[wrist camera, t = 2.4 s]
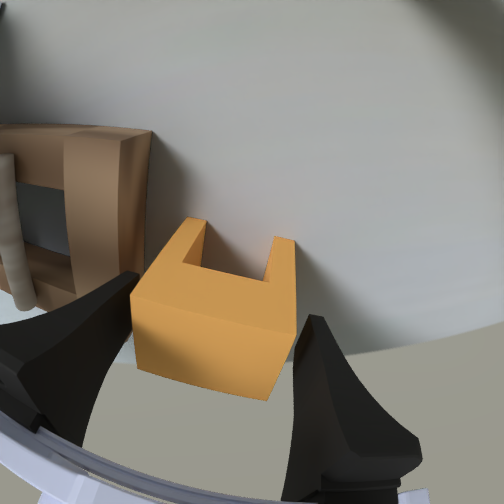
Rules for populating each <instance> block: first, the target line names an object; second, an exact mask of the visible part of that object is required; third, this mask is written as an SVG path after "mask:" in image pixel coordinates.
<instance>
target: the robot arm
mask: <svg viewBox="0 0 504 504" xmlns="http://www.w3.org/2000/svg"><path fill="white" fill-rule="evenodd" d="M0 8H1V1H0ZM139 281H140V274H139V273H135V272H131V271H128V270H127V271H125V272H123V273H121V274H120V275H118V276H116V277H115V278H113V279H111V280H110V281H108V282H107V283H105V284H103V285H101V286H100V287H98V288H96V289H95V290H93V291H91V292H90V293H88V294H86V295H84V296H82V297H80V298H78V299H76V300H75V301H73V302H71V303H69V304H67V305H64V306H62V307H60V308H57V309H55V310H53V311H50V312H47V313H44V314H42V315H39V316H36V317H33V318H29V319H26V320H22V321H18V322H13V323H8V324H2V325H0V463H1V464H3V465H4V466H5V467H7V468H8V469H9V470H11V471H12V472H13V473H15V474H16V475H18V476H19V477H20V478H22V479H23V480H25V481H26V482H28V483H29V484H31V485H32V486H34V487H36V488H37V489H39V490H40V491H42V494H41V496H40V499H39V501H38V504H166V503H163V502H159V501H156V500H152V499H149V498H147V497H144V496H141V495H137V494H135V493H132V492H129V491H126V490H124V489H121V488H119V487H116V486H114V485H111V484H109V483H106V482H104V481H102V480H99V479H97V478H94V477H92V476H89V474H88V473H87V472H86V471H85V470H87V471H89V472H91V473H93V474H95V475H98V476H100V477H102V478H104V479H107V480H109V481H112V482H114V483H117V484H119V485H122V486H124V487H127V488H130V489H132V490H135V491H138V492H141V493H144V494H147V495H150V496H153V497H156V498H160V499H163V500H166V501H170V502H174V503H178V504H430V499H429V492H428V488H422V489H417V490H411V491H406V492H402V493H399V494H397V487H400V486H401V480H400V478H401V477H403V476H404V475H406V474H407V473H409V472H410V471H412V470H414V469H415V468H416V467H418V466H419V465H420V463H421V462H422V459H423V458H422V453H421V447H420V443H419V439H418V438H417V437H416V436H415V435H413V434H412V433H411V432H409V431H408V430H407V429H405V428H404V427H403V426H402V425H400V424H399V423H398V422H397V421H396V420H395V419H394V418H392V416H390V415H389V414H388V413H387V412H386V411H385V410H384V409H383V408H382V407H381V406H380V405H379V403H378V402H377V401H376V400H375V399H374V398H373V397H372V396H371V394H370V393H369V392H368V391H367V389H366V388H365V387H364V386H363V384H362V383H361V382H360V381H359V379H358V377H357V376H356V375H355V373H354V372H353V370H352V368H351V367H350V365H349V364H348V362H347V360H346V359H345V357H344V355H343V353H342V352H341V350H340V348H339V346H338V344H337V343H336V341H335V339H334V337H333V335H332V333H331V331H330V329H329V327H328V325H327V323H326V321H325V319H324V317H321V316H316V315H311V314H309V316H308V318H307V321H306V323H305V325H304V328H303V330H302V332H301V335H300V337H299V339H298V342H297V344H296V346H295V352H294V361H293V394H294V421H293V431H292V440H291V447H290V455H289V461H288V467H287V473H286V479H285V483H284V488H283V492H282V497H281V501H272V500H262V499H253V498H246V497H239V496H232V495H227V494H222V493H216V492H211V491H206V490H202V489H197V488H193V487H189V486H185V485H181V484H177V483H174V482H170V481H166V480H163V479H160V478H156V477H154V476H150V475H147V474H144V473H141V472H139V471H136V470H133V469H130V468H127V467H125V466H122V465H120V464H117V463H115V462H112V461H110V460H107V459H105V458H102V457H100V456H98V455H96V454H94V453H91V452H89V451H87V450H85V449H83V448H82V445H83V441H84V437H85V433H86V429H87V425H88V422H89V419H90V415H91V413H92V409H93V406H94V404H95V401H96V398H97V396H98V393H99V390H100V388H101V385H102V383H103V381H104V378H105V376H106V374H107V372H108V370H109V368H110V366H111V364H112V363H113V361H114V359H115V358H116V356H117V354H118V352H119V351H120V349H121V347H122V346H123V344H124V343H125V341H126V339H127V338H128V336H129V334H130V333H131V331H132V329H133V327H132V316H131V303H130V294H131V293H132V291H133V290H134V288H135V287H136V285H137V284H138V283H139ZM79 467H80V468H79ZM81 468H82V469H81ZM83 469H84V470H83Z"/></svg>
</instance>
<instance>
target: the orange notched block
mask: <svg viewBox="0 0 504 504" xmlns="http://www.w3.org/2000/svg"><path fill="white" fill-rule="evenodd" d="M206 222H207V221H206V220H201V219H196V218H192V217H187V218H186V219H185V220H184V222H183V223H182V224H181V226H180V227H179V228H178V229H177V231H176V232H175V233H174V235H173V236H172V237H171V239H170V240H169V241H168V243H167V244H166V245H165V247H164V248H163V249H162V251H161V252H160V253H159V255H158V256H157V258H156V259H155V260H154V262H153V263H152V264H151V266H150V267H149V269H148V270H147V271H146V273H145V274H144V276H143V277H142V278H141V280H140V281H139V283H138V284H137V285H136V287H135V288H134V290H133V291H132V293H131V294H130V303H131V316H132V327H133V337H134V346H135V354H136V362H137V368H138V369H140V370H143V371H146V372H149V373H152V374H155V375H159V376H162V377H165V378H169V379H172V380H176V381H179V382H183V383H187V384H190V385H194V386H198V387H202V388H207V389H211V390H215V391H219V392H223V393H228V394H232V395H237V396H242V397H247V398H252V399H258V400H263V401H267V400H268V398H269V396H270V393H271V391H272V389H273V387H274V385H275V383H276V380H277V378H278V376H279V374H280V372H281V370H282V367H283V365H284V363H285V361H286V358H287V356H288V354H289V352H290V349H291V347H292V345H293V342H294V340H295V338H296V335H297V332H296V273H295V242H294V240H289V239H285V238H281V237H276V236H274V240H273V244H272V248H271V252H270V255H269V259H268V263H267V267H266V270H265V274H264V278H263V281H259V280H255V279H251V278H246V277H242V276H237V275H233V274H229V273H224V272H220V271H216V270H212V269H207V268H203V267H201V259H202V251H203V244H204V237H205V229H206Z"/></svg>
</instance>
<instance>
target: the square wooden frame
mask: <svg viewBox="0 0 504 504" xmlns="http://www.w3.org/2000/svg"><path fill="white" fill-rule="evenodd" d="M151 136H152V131H149V130H140V129H131V128H120V127H108V126H94V125H76V124H0V289H1V290H3V291H5V292H7V293H9V294H11V295H12V296H13V299H14V302H15V305H16V307H17V309H18V310H20V311H29V310H31V309H33V308H34V307H35V306H36V307H38V308H40V309H42V310H45V311H47V312H50V311H53V310H55V309H57V308H60V307H62V306H64V305H67V304H69V303H71V302H73V301H75V300H76V299H78V298H80V297H82V296H84V295H86V294H88V293H90V292H91V291H93V290H95V289H96V288H98V287H100V286H101V285H103V284H105V283H107V282H108V281H110V280H111V279H113V278H115V277H116V276H118V275H120V274H121V273H123V272H125V271H127V270H128V271H131V272H135V273H139V274H140V280H141V278H142V277H143V276H144V236H145V209H146V192H147V178H148V165H149V155H150V145H151ZM16 182H21V183H27V184H32V185H38V186H43V187H49V188H54V189H60V190H64V197H65V213H66V225H67V235H68V244H69V251H70V257H69V256H65V255H62V254H59V253H56V252H53V251H50V250H47V249H44V248H41V247H38V246H35V245H32V244H29V243H26V242H24V241H23V236H22V230H21V224H20V217H19V210H18V201H17V192H16ZM132 332H133V329H132V331H131V333H132ZM131 333H130V334H129V336H128V338H127V339H126V341H125V342H127V340H128V339H129V337H130V335H131Z"/></svg>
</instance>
